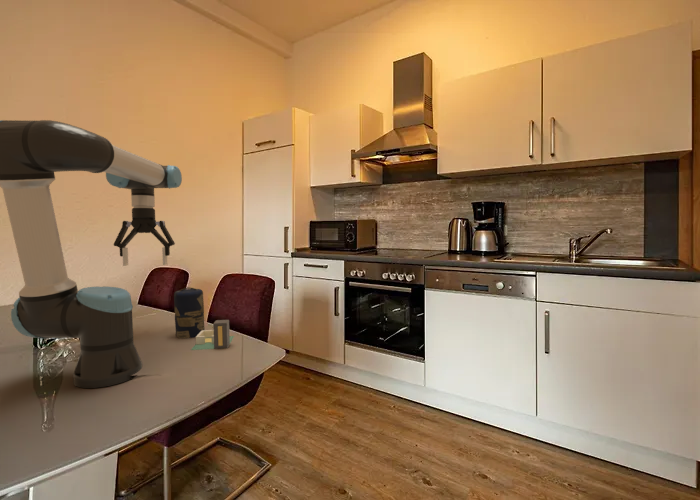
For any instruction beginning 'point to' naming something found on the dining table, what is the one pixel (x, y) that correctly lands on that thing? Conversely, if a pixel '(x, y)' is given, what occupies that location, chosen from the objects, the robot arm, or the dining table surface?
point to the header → (205, 334)
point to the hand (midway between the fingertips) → (145, 265)
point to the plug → (221, 334)
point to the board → (207, 345)
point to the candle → (189, 312)
